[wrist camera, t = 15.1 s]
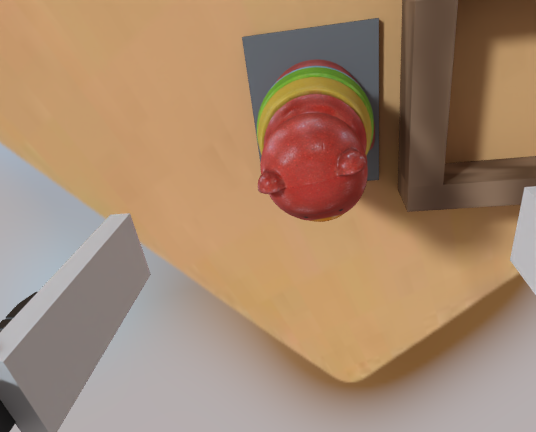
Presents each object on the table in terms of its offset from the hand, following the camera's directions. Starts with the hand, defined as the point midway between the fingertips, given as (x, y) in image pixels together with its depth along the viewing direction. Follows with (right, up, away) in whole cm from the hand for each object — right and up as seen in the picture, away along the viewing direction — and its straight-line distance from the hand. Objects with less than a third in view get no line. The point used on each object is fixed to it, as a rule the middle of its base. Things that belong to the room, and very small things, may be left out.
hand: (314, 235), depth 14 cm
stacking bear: (+3, +11, +25) cm, 27 cm away
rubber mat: (+3, +11, +25) cm, 27 cm away
